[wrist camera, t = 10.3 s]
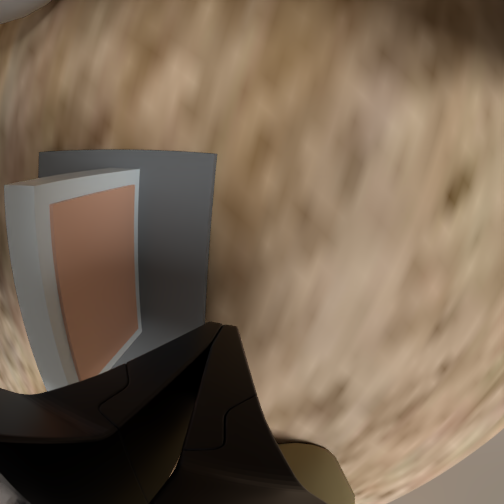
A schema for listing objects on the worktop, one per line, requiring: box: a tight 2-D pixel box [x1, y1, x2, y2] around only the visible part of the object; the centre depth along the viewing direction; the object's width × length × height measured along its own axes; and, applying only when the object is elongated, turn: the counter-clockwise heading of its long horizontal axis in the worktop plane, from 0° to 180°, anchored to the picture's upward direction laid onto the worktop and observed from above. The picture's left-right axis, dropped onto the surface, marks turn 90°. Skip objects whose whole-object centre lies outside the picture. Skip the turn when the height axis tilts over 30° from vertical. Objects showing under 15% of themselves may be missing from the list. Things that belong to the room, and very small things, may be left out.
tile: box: [4, 168, 142, 391], centre depth 10 cm, size 8×2×6 cm, turn 174°
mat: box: [38, 150, 217, 370], centre depth 14 cm, size 10×14×1 cm
